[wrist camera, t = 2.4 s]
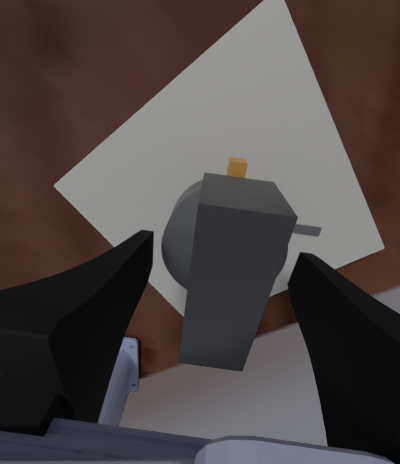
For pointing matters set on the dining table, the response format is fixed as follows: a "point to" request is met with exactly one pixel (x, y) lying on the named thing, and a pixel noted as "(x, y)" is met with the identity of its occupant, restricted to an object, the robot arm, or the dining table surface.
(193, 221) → the dark grey blocky piece
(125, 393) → the robot arm
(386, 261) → the dining table surface
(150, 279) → the post base
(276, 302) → the dining table surface
